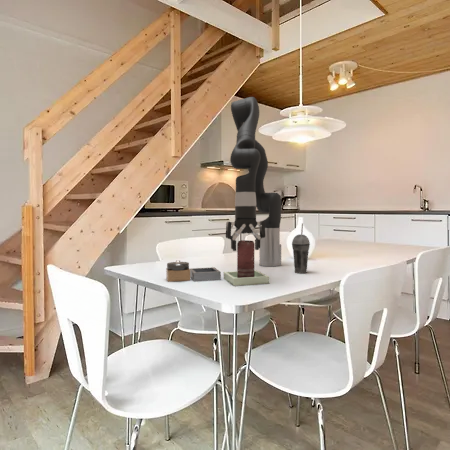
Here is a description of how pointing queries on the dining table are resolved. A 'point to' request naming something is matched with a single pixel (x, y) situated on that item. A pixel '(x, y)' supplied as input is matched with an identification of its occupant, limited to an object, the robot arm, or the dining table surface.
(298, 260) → the beverage cup
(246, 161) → the robot arm
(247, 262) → the can
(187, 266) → the brown and grey dock
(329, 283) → the dining table surface
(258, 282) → the tray
